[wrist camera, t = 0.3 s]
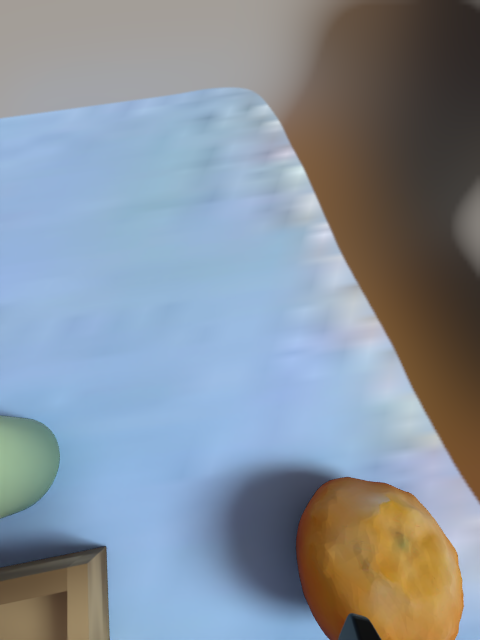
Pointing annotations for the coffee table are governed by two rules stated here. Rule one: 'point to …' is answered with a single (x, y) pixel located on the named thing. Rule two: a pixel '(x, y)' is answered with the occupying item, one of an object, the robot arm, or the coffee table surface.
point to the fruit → (378, 562)
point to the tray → (56, 598)
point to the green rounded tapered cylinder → (25, 463)
